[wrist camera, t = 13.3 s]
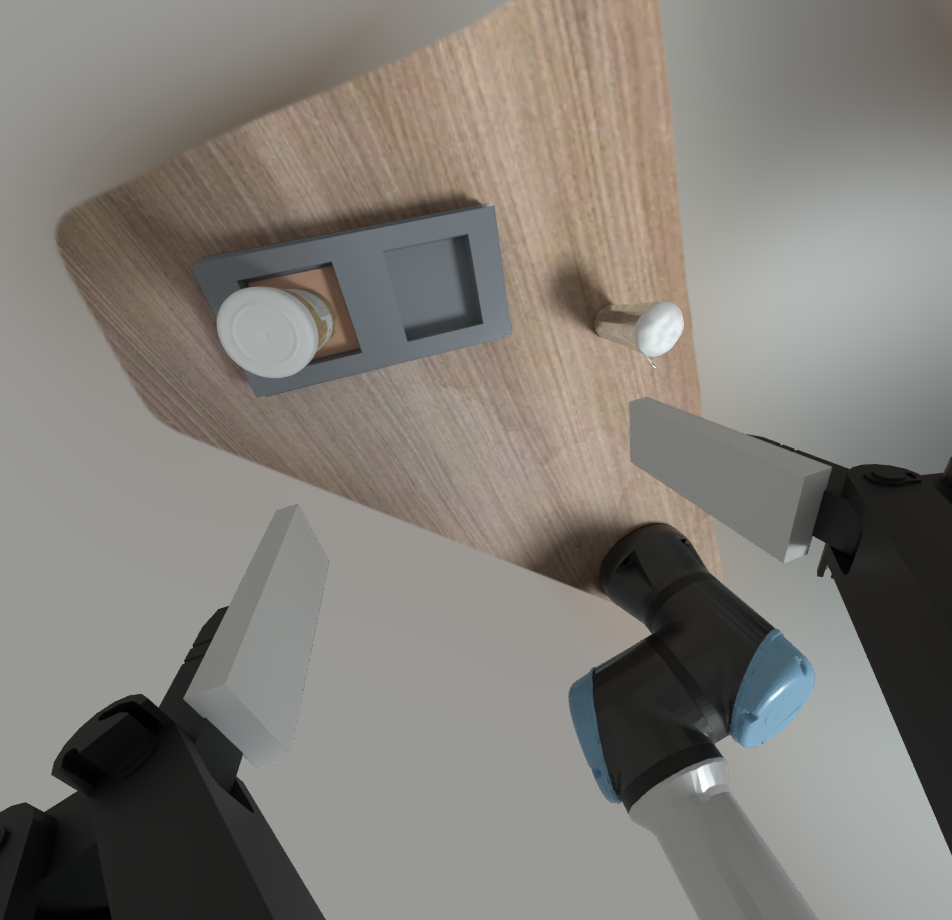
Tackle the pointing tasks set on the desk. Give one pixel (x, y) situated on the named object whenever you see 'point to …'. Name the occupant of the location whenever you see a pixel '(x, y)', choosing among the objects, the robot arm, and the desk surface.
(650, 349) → the milkshake
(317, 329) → the sprinkles bottle
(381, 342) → the two-pocket grey tray
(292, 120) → the desk surface
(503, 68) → the desk surface
